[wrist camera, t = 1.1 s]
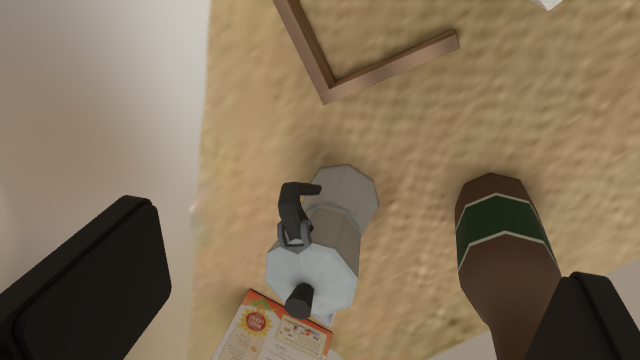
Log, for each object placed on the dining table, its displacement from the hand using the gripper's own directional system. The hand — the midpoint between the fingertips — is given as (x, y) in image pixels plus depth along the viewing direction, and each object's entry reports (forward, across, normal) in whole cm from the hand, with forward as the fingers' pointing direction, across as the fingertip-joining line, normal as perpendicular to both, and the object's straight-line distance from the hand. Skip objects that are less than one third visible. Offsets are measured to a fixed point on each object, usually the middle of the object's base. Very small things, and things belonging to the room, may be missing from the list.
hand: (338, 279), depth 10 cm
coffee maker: (+33, +5, +17) cm, 38 cm away
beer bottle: (+33, -12, +16) cm, 38 cm away
